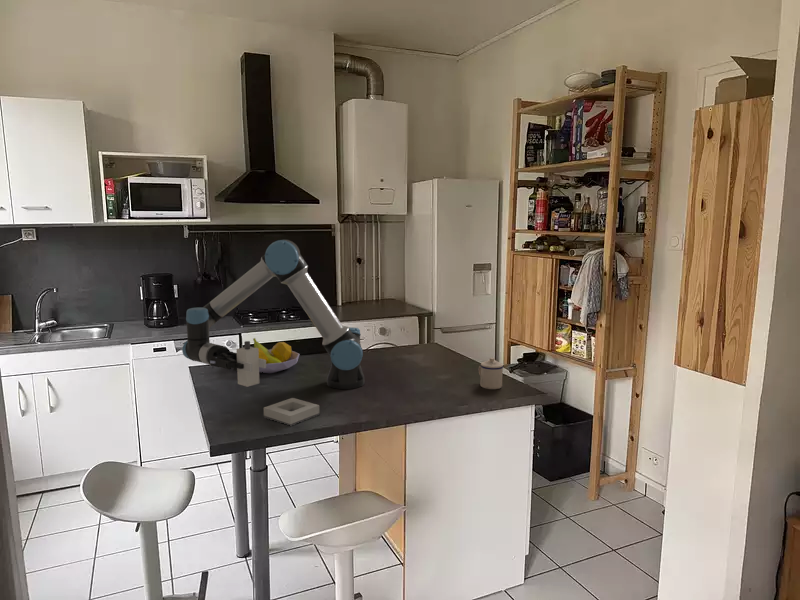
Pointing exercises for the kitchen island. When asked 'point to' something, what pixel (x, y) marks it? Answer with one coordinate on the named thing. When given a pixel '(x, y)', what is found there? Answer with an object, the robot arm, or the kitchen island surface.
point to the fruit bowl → (276, 357)
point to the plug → (248, 356)
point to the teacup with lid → (491, 374)
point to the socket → (291, 411)
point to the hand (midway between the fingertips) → (258, 365)
